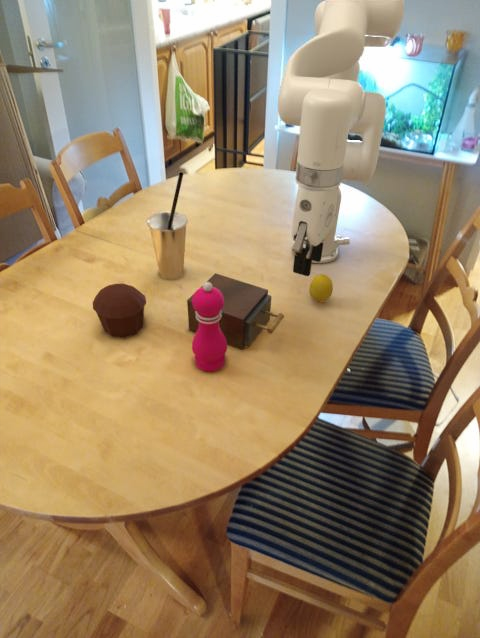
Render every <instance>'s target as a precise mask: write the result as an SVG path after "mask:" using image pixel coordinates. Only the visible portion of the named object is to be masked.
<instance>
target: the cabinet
mask: <svg viewBox="0 0 480 638" xmlns="http://www.w3.org/2000/svg"><path fill="white" fill-rule="evenodd" d="M206 282H210V283H211V284H212V287H215V288H217V289H218V290H220V291H221V293H222V295H223V297H224V305H223V308H222V309H221V311H222V312H221V315H222V316H221V319H220V320H219V327H220V329H221V331H222V332H223V334H224V336H225V338H226V341H227V346H230V347H232V348H235V349H238V350H241V351H243V350H244V348H246V346H244V322H245V319H246V318H247V317H248V316H249V315H250V313H251V312H252V311H253V310H254V309H255V307H256V306H257V305H258V304H259V303H260V302H261V301H262V300H263V299H264V297H265V296H266V295H269V289H267V288H264V287H260V286H257V285H255V284H251V283H248V282H244V281H242V280H239V279H235V278H232V277H228V276H225V275H223V274H219V273H214V274H213V275H212V276H211V277H210V278H209V279H207V281H206ZM201 287H203V285H201ZM201 287H199V288H201ZM193 295H194V293H193V294H192V295H191V296H190V297H188V298H187V300H186V303H187V305H186V306H187V318H188V319H187V320H188V321H187V322H188V331H189V332H192V333H195V334H196V332H197V330H198V327H199V321H198V320H197V319H196V313H195V311H196V310H195V309H194V307H193V304H192V298H193Z"/></svg>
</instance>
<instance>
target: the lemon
mask: <svg viewBox="0 0 480 638" xmlns="http://www.w3.org/2000/svg"><path fill="white" fill-rule="evenodd" d="M333 289H334V285H333V280H332V278H331V277H330V276H329V275H327V274H325V273H320V274H316V275H315V276H313V278H312V279H311V281H310V283H309V290H308V291H309V296H310V297H311V299H312V300H314V301H316V302H318V303H322V302H323V303H324V302H326V301H328V300H329V299H330V298H331V296H332V294H333Z"/></svg>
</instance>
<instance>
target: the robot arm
mask: <svg viewBox="0 0 480 638" xmlns="http://www.w3.org/2000/svg"><path fill="white" fill-rule="evenodd" d="M404 13H405V0H323V1H321V2H319V3H318V5H317V6H316V9H315V12H314V21H313V22H314V33H315V36H314V37H312V38H310V39H309V40H307V42H305V43H304V44H302V45H301V46H300V47H298V48H297V49H295V51H294V52H293V53H292V54H291V55H290V57H289V59H288V60H287V62H286V65H285V67H284V71H283V74H282V78H281V82H280V86H279V90H278V95H277V96H278V97H277V113H278V116H279V118H280V119H281V121H282V122H283V123H285V124H286V125H289V126H294V127H295V126H296V127H299V135H298V136H299V137H298V146H297V157H296V158H297V159H296V169H295V179H294V181H295V183H296V184H297V185H298V188H297V191H296V197H295V203H294V208H293V209H294V210H293V215H292V226H291V238H292V240H293V241H294V242H293V246H292V252H293V254H294V257H293V258H294V259H293V267H292V273H295V274H297V275H301V276H304V277H309V276H310V275H311V273H312V272H311V271H312V264H326V263H329V262H332V261H334V260H335V259H337V257H338V254H339V247H341V246H347V245H350V243H351V240H350V238H349V237H342V235H341V234H338V235H336V233H337V232H336V231H337V226H338V220H339V215H340V208H341V202H342V192H341V189H340V186H341V183H342V181H345V182H346V181H347V182H354V183H355V182H357V183H366V182H369V181H371V180H372V178H374V175H375V172H376V169H377V164H378V159H379V153H380V149H381V143H382V137H383V131H384V126H385V121H386V114H387V112H386V111H387V103H386V99H385V97H384V96H383V95H382V94H381V93H380V92H376V91H368V90H367V91H366V90H364V88H363V86H362V85H361V84H360V83H359V76H360V71H361V70H360V69H361V68H360V67H361V66H360V62H359V61H360V60H361V59H362V56H363V54H364V51H365V48H371V49H386V48H390V46H391V45H392V44H393V43H394V41H395V40H396V37H397V35H398V33H399V31H400V29H401V26H402V22H403V18H404ZM349 135H353V136H358V137H360V138H361V139H362V140H353V139H352V140H350V139H349Z"/></svg>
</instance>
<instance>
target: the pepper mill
mask: <svg viewBox="0 0 480 638" xmlns="http://www.w3.org/2000/svg"><path fill="white" fill-rule="evenodd" d="M203 283H204V284H202V286H203V287H201V288H200V287H198V288H197V290H195V292H193V294H194V295H193V294H192V295H193V298H192V304H193V307H194V309H195V310H196V311H195V313H196V319H197V320H198V321H199V327H198V330H197V332H196V333H195V334H194V336H193V338H192V342H191V351H192V353H193V355H194V364H195V366H196V368H198V369H199V370H201V371H203V372H208V373H209V372H210V373H211V372H216V371H219V370H221V369H222V368H223V367H224V365H225V363H226V353H227V351H228V345H227V341H226V338H225V336H224V334H223V332H222V331H221V329H220V327H219V320H220V319H221V316H222V315H221V312H222V311H221V309H222V308H223V305H224V297H223V295H222V293H221V291H220V290H218V289H217V288H215V287H212V284H211V283H210V282H207V281H205V282H203Z"/></svg>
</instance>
